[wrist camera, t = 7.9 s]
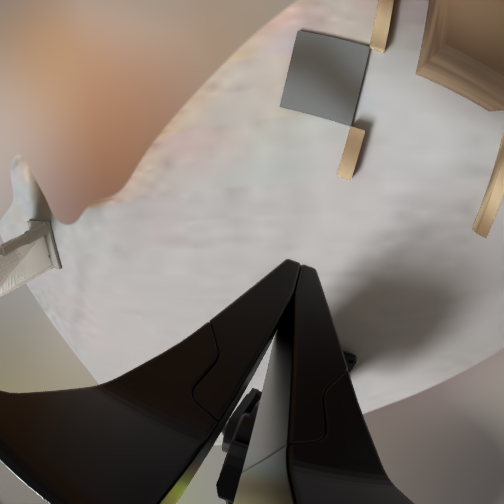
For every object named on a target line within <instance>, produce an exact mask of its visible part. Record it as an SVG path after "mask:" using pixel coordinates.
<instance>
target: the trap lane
mask: <svg viewBox="0 0 504 504" xmlns="http://www.w3.org/2000/svg"><path fill="white" fill-rule="evenodd" d="M393 2H394V0H378V6H377V12H376V17H375V22H374V27H373V32H372V37H371V42H370V47H368V46H365V45H361V44H358V43H354V42H350V41H346V40H342V39H338V38H334V37H329V36H324V35H320V34H315V33H309V32H304V31H298V32H297V36H296V40H295V44H294V49H293V53H292V57H291V61H290V65H289V70H288V74H287V78H286V82H285V87H284V91H283V95H282V99H281V104H280V107H282V108H287V109H291V110H295V111H299V112H303V113H307V114H311V115H314V116H318V117H322V118H325V119H329V120H332V121H335V122H339V123H342V124H345V125H348V126H350V130H349V134H348V137H347V141H346V144H345V148H344V152H343V155H342V159H341V162H340V166H339V169H338V173H337V176H338V177H341V178H344V179H347V180H350V181H351V179H352V175H353V172H354V169H355V165H356V162H357V159H358V155H359V152H360V148H361V145H362V141H363V138H364V134H365V131H364V130H361V129H358V128H355V127H352V126H351V124H352V120H353V116H354V113H355V109H356V105H357V101H358V97H359V93H360V88H361V84H362V80H363V76H364V71H365V67H366V63H367V58H368V54H369V49H370V48H371V49H374V50H378V51H381V52H384V51H385V46H386V41H387V36H388V31H389V26H390V20H391V14H392V8H393ZM503 195H504V133H503V137H502V141H501V145H500V149H499V153H498V156H497V160H496V163H495V167H494V170H493V173H492V176H491V179H490V182H489V185H488V188H487V191H486V194H485V197H484V200H483V202H482V205H481V208H480V210H479V213H478V215H477V218H476V220H475V223H474V225H473V228H472V229H473V230H474V231H475V232H476V233H477V234H479V235H481V236H483V237H485V238H487V235H488V233H489V231H490V228H491V226H492V224H493V221H494V219H495V216H496V214H497V211H498V208H499V206H500V203H501V200H502V197H503Z"/></svg>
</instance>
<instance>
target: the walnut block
mask: <svg viewBox="0 0 504 504" xmlns="http://www.w3.org/2000/svg"><path fill="white" fill-rule="evenodd" d="M416 74H417V75H419V76H422V77H424V78H426V79H428V80H431V81H433V82H435V83H437V84H439V85H441V86H443V87H446V88H448V89H450V90H452V91H454V92H456V93H458V94H459V95H461V96H463V97H465V98H467V99H469V100H471V101H472V102H474V103H476V104H478V105H479V106H481V107H483V108H485V109H486V110H488V111H499V110H504V0H429V6H428V12H427V19H426V25H425V31H424V36H423V41H422V46H421V51H420V56H419V61H418V65H417V70H416Z"/></svg>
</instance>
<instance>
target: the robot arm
mask: <svg viewBox="0 0 504 504" xmlns="http://www.w3.org/2000/svg"><path fill="white" fill-rule="evenodd" d="M275 333H276V334H275ZM274 335H275V338H274V342H273V346H272V350H271V355H270V360H269V364H268V369H267V373H266V377H265V382H264V386H263V390H262V392H261V391H259V390H257V389H254V388H252V390H251V391H250V393H249V394H247V395H246V396H245V398H244V399H243V400H242V402H241V403H240V405H239V406H238V407H237V409H236V410H235V412H234V413H233V414H232V412H233V411H234V409H235V407H236V406H237V404H238V402H239V400H240V399H241V397H242V395H243V393H244V391H245V390H246V388H247V386H248V384H249V382H250V381H251V379H252V377H253V375H254V373H255V372H256V370H257V368H258V366H259V364H260V362H261V360H262V359H263V357H264V355H265V353H266V351H267V349H268V347H269V345H270V343H271V341H272V339H273V337H274ZM350 359H351V360H352V361H351V360H350ZM356 361H357V358H356V356H355V355H352V354H349V353H346V352H344V351H342V348H341V344H340V341H339V338H338V335H337V332H336V328H335V325H334V322H333V319H332V316H331V313H330V310H329V307H328V304H327V301H326V298H325V295H324V292H323V289H322V286H321V283H320V280H319V277H318V274H317V271H316V269H314V268H312V267H309V266H307V265H300V263H298V262H296V261H293V260H290V259H286V260H285V261H284V262H282V263H281V264H280V265H279V266H277V267H276V268H275V269H274V270H272V271H271V272H270V273H269V274H268V275H266V276H265V277H264V278H263V279H261V280H260V281H259V282H258V283H256V284H255V285H254V286H253V287H251V288H250V289H249V290H248V291H246V292H245V293H244V294H243V295H241V296H240V297H239V298H238V299H236V300H235V301H234V302H233V303H231V304H230V305H229V306H228V307H226V308H225V309H224V310H223V311H221V312H220V313H219V314H217V315H216V316H215V317H214V318H212V319H211V320H210V322H207V323H206V324H204V325H203V326H202V327H201V328H199V329H198V330H197V331H195V332H194V333H193V334H191V335H190V336H188V337H187V338H186V339H184V340H183V341H181V342H180V343H178V344H177V345H175V346H173V347H172V348H170V349H168V350H167V351H165V352H163V353H162V354H160V355H158V356H156V357H154V358H153V359H151V360H149V361H147V362H145V363H144V364H142V365H140V366H138V367H136V368H134V369H133V370H131V371H129V372H127V373H125V374H123V375H121V376H120V377H118V378H116V379H114V380H111V381H109V382H106V383H103V384H100V385H97V386H92V387H85V388H76V389H67V390H57V391H45V392H31V393H9V392H4V391H0V504H176V502H177V501H178V499H179V498H180V496H181V495H182V493H183V492H184V490H185V489H186V487H187V486H188V484H189V483H190V481H191V480H192V478H193V477H194V475H195V473H196V472H197V470H198V469H199V467H200V466H201V464H202V462H203V461H204V459H205V457H206V456H207V454H208V453H209V451H210V449H211V448H212V446H213V445H214V443H215V441H216V440H217V438H218V436H219V435H220V433H221V432H222V434H223V436H224V437H223V444H222V451H223V452H226V453H227V455H226V458H225V461H224V464H223V467H222V470H221V473H220V476H219V479H218V481H217V484H216V486H217V493H218V496H219V498H221V499H224V500H226V504H414V503H413V502H412V501H411V500H410V499H408V498H407V497H406V496H405V495H404V494H403V493H402V492H401V491H400V490H399V489H398V488H397V487H396V486H395V485H394V484H393V483H392V482H391V480H390V479H389V477H388V476H387V474H386V472H385V470H384V468H383V466H382V463H381V461H380V458H379V456H378V453H377V450H376V448H375V445H374V443H373V440H372V438H371V435H370V432H369V430H368V427H367V425H366V423H365V420H364V417H363V414H362V412H361V409H360V406H359V403H358V401H357V397H356V394H355V391H354V388H353V385H352V381H351V378H350V374H349V373H350V371H351V370H352V368H353V367H354V365H355V364H356ZM231 414H232V416H231ZM230 416H231V417H230ZM228 419H229V420H228Z"/></svg>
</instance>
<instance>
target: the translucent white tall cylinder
mask: <svg viewBox="0 0 504 504" xmlns="http://www.w3.org/2000/svg"><path fill="white" fill-rule="evenodd" d="M27 223H28V227H29V230H28V231H25V233H24V234H22V235H20V236H18V237H16V238H14V239H11V240H9V241H7V242H5V243H3V244H1V245H0V297H1V296H3V295H5V294H7V293H9V292H10V291H12V290H14V289H16V288H18V287H20V286H21V285H23V284H25V283H27V282H29V281H31V280H32V279H34V278H36V277H38V276H39V275H41V274H43V273H45V272H47V271H48V270H50V269H52V268H57V269H61V268H62V267H61V264H60V260H59V257H58V253H57V249H56V246H55V242H54V238H53V234H52V230H51V225H50V222H46V221H27Z"/></svg>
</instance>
